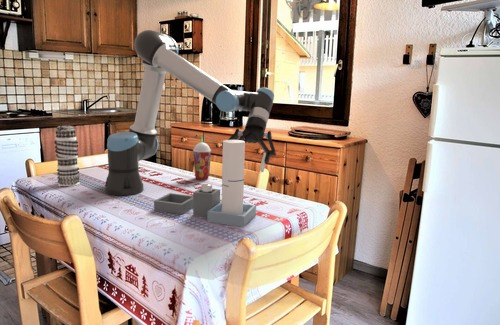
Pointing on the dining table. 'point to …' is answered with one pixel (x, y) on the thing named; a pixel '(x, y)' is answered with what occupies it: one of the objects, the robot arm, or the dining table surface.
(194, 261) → the dining table surface
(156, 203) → the dark grey square bin
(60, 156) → the decorative candle
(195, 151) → the smoothie
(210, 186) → the plunger
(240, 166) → the white tall block
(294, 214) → the dining table surface
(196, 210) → the housing block
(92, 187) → the dining table surface
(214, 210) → the tray
